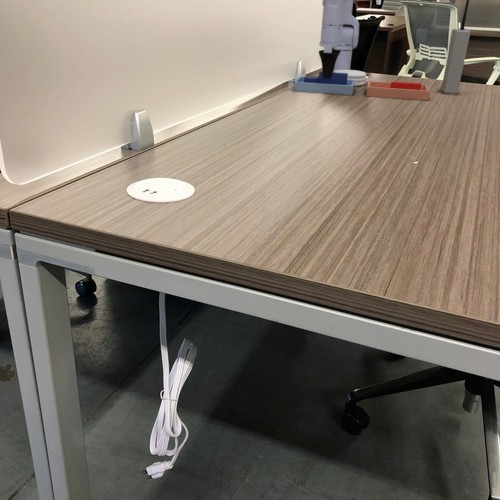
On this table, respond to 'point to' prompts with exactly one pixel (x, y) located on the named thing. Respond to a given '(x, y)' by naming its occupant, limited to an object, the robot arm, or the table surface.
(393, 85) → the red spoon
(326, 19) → the robot arm
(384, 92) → the red bin
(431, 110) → the table surface
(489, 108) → the table surface
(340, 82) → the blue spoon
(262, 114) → the table surface
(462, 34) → the vintage mobile phone
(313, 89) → the blue bin
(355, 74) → the coaster
